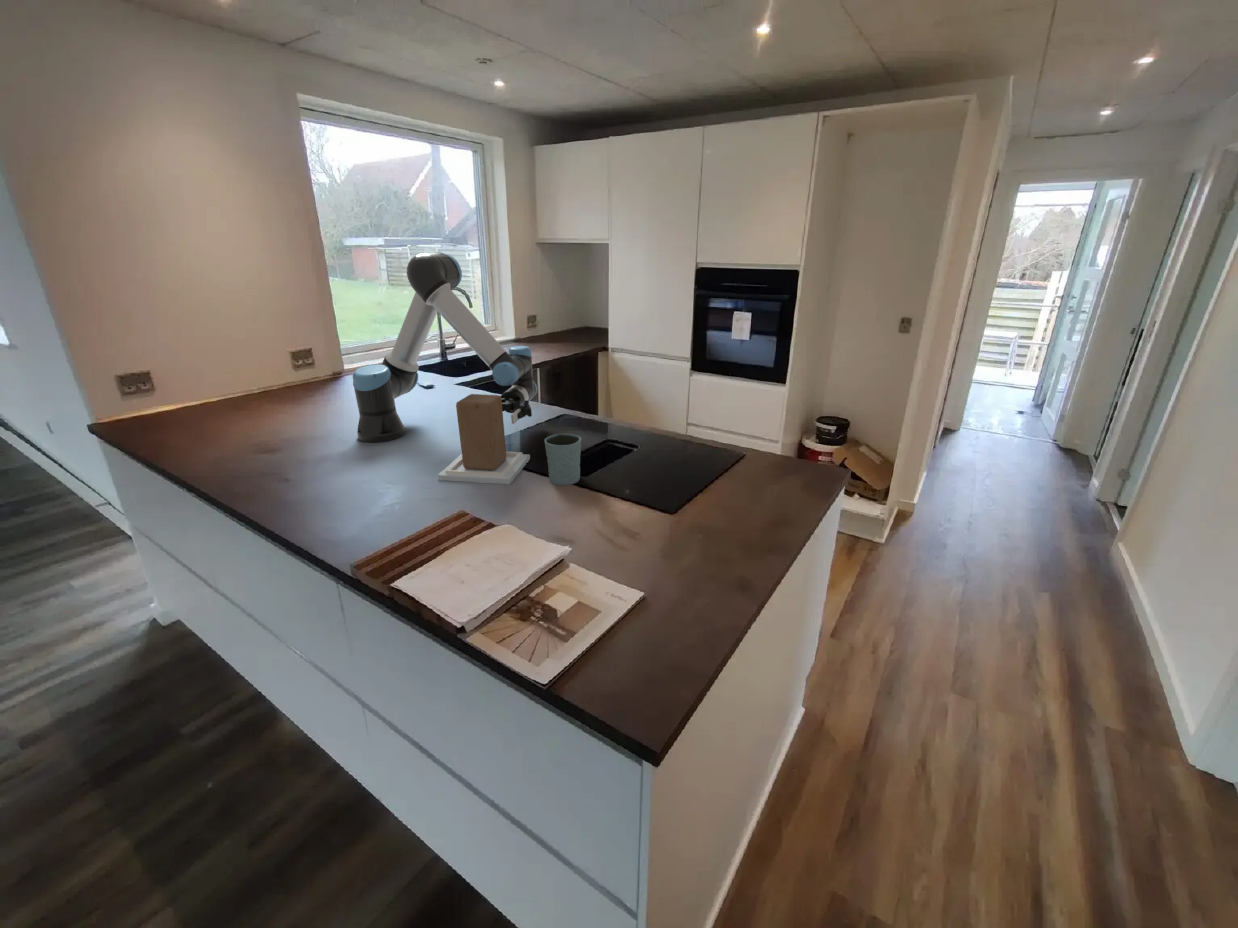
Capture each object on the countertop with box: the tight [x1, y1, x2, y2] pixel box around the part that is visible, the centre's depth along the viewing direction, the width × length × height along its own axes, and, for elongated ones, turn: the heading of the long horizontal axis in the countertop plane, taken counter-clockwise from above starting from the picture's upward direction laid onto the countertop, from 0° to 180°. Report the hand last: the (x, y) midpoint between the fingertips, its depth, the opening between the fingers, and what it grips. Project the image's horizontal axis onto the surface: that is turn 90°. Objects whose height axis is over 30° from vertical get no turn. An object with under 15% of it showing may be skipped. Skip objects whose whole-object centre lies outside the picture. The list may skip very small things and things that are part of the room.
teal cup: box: [544, 433, 582, 486], centre depth 151 cm, size 10×10×12 cm
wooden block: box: [455, 393, 507, 470], centre depth 156 cm, size 10×10×20 cm
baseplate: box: [437, 451, 531, 485], centre depth 159 cm, size 19×21×2 cm
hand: (490, 418), depth 161 cm, fingers open, 13 cm apart
